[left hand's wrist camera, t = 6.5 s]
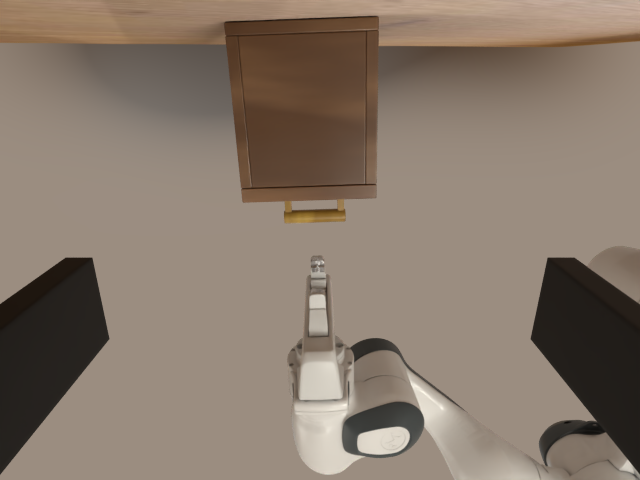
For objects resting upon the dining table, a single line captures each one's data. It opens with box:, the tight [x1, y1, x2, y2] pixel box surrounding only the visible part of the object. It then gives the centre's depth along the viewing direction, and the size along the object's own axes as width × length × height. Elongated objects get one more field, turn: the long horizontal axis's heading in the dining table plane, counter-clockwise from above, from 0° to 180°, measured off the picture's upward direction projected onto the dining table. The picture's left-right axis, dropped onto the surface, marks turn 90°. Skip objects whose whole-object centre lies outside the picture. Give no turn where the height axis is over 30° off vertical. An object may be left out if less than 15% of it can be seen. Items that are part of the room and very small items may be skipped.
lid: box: [241, 183, 376, 223], centre depth 42 cm, size 18×10×8 cm, turn 0°
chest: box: [224, 17, 379, 188], centre depth 38 cm, size 18×10×11 cm, turn 0°
